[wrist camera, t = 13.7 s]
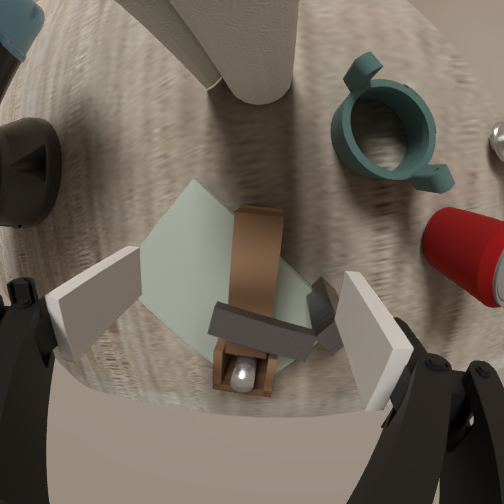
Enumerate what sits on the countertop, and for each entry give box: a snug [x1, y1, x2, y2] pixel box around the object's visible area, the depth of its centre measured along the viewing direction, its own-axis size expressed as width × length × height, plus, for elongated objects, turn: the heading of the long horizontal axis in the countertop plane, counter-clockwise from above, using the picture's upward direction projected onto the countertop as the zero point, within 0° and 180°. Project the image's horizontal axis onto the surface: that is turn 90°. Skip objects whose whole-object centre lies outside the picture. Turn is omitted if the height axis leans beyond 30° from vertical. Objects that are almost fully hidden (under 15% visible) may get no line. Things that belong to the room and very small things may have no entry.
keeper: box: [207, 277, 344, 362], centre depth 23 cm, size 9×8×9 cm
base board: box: [138, 178, 318, 374], centre depth 27 cm, size 20×14×1 cm
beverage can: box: [423, 207, 504, 308], centre depth 18 cm, size 7×7×12 cm
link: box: [213, 205, 284, 397], centre depth 24 cm, size 17×6×5 cm, turn 175°
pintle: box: [230, 355, 258, 392], centre depth 25 cm, size 2×2×7 cm
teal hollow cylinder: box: [331, 52, 455, 194], centre depth 18 cm, size 9×9×9 cm
